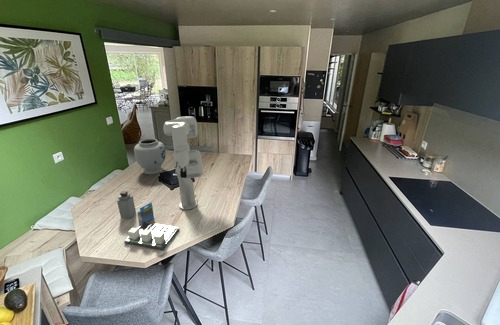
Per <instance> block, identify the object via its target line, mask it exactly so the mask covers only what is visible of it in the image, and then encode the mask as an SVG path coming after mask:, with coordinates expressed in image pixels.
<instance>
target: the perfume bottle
mask: <svg viewBox="0 0 500 325" xmlns="http://www.w3.org/2000/svg"><path fill="white" fill-rule="evenodd" d="M116 203H117V207H118V211H119V216H120V219H123V220H132V219H133V218H134V217H135V215H136V214H137V211H136V210H137V209H136V206H135V201H134V196H133V195H131V193H128V190H122V191H121V192H119V195H118V197H117V200H116Z"/></svg>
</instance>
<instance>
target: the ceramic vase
mask: <svg viewBox="0 0 500 325" xmlns="http://www.w3.org/2000/svg"><path fill="white" fill-rule="evenodd" d="M133 155H134V159H135V161H136V163H137V164H138V165H139V166H140V167H141V168H143V171H142V172H143V174H145V175H156V174H160V173H162V172H164V171H163V170H164V168H163V167H162V166H163V164H164V162H165V160H166V156H167V155H166V148H165V144H164V143H163V142H161V141H158V139H156V138H144V139H141V140H140V141H138V143H137V144H136V145H135V146H134V148H133ZM161 171H162V172H161ZM159 172H160V173H159Z"/></svg>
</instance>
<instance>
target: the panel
mask: <svg viewBox="0 0 500 325" xmlns="http://www.w3.org/2000/svg"><path fill="white" fill-rule="evenodd" d="M137 228H139V232H140V235H139V236H138V237H137V238H136V239H135V240H133V239H129V236H127V237H126V239H124V240H123V242H124V244H126V245H129V246H135V247H141V248H147V249H152V250H157V251H161V252H162V251H165V249H166V248H167V246H168V245H169V244H170V243H171V242H172V240H173V239H174V237H175V236H176V235H177V234H178V233H179V231H180V227H179V226H173V225H166V224H160V223H155V222H149V221H148V222H143V223H142V224H140V225H139V226H138V227H137ZM144 230H151V232H152V238H151V239H150V240H149V241H148V242H144V241H142V239H141V233H142V232H143V231H144ZM157 232H164V235H165V240H164V241H163V242H162V244H155V242H154V235H155V234H156V233H157Z"/></svg>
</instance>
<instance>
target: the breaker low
mask: <svg viewBox="0 0 500 325" xmlns="http://www.w3.org/2000/svg"><path fill="white" fill-rule="evenodd" d="M127 234H128V237H129V239H133V240H135V239H136V238H137V237H138V236H139V235H140V232H139V228H138V227H131V228H130V229H129V230H128V232H127Z"/></svg>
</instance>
